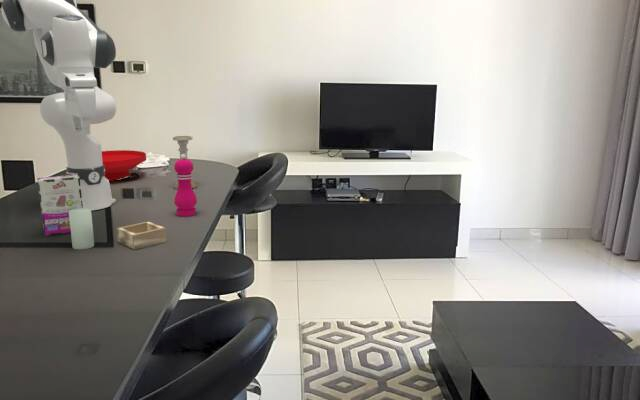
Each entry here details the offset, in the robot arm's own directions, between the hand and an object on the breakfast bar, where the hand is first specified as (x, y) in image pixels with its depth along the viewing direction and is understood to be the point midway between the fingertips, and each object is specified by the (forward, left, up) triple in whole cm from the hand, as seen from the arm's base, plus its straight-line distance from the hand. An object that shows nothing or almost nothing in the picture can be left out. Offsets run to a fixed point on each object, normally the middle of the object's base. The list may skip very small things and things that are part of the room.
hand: (82, 133), depth 146 cm
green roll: (+2, -3, -30) cm, 31 cm away
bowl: (-78, +44, -31) cm, 95 cm away
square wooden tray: (+10, +10, -30) cm, 33 cm away
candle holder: (-40, +57, -31) cm, 76 cm away
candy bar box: (-15, -1, -31) cm, 34 cm away
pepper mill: (-6, +35, -31) cm, 47 cm away
